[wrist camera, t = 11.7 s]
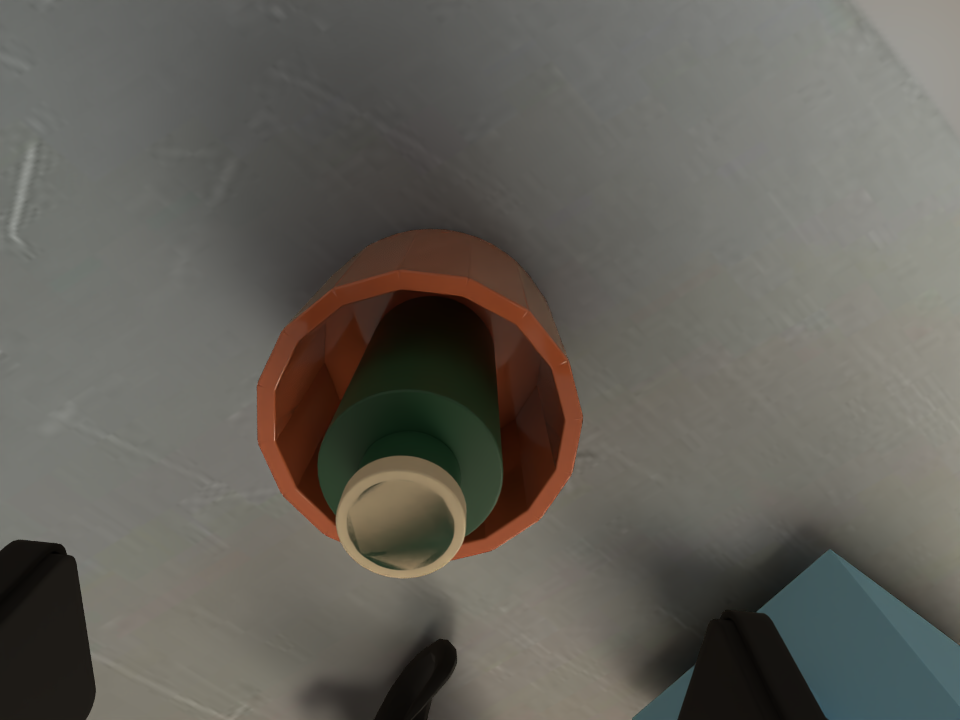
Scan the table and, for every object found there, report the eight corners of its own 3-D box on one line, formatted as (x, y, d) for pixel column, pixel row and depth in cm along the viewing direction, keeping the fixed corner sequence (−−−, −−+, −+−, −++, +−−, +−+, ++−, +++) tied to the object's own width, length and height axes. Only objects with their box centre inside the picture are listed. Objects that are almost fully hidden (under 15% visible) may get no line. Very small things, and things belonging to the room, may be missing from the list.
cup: (318, 214, 21) (254, 253, 15) (571, 243, 22) (608, 293, 15) (312, 440, 24) (258, 548, 18) (534, 462, 25) (553, 575, 19)
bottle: (373, 288, 21) (294, 420, 12) (502, 302, 22) (520, 443, 12) (367, 405, 23) (292, 601, 14) (487, 417, 23) (493, 619, 14)
